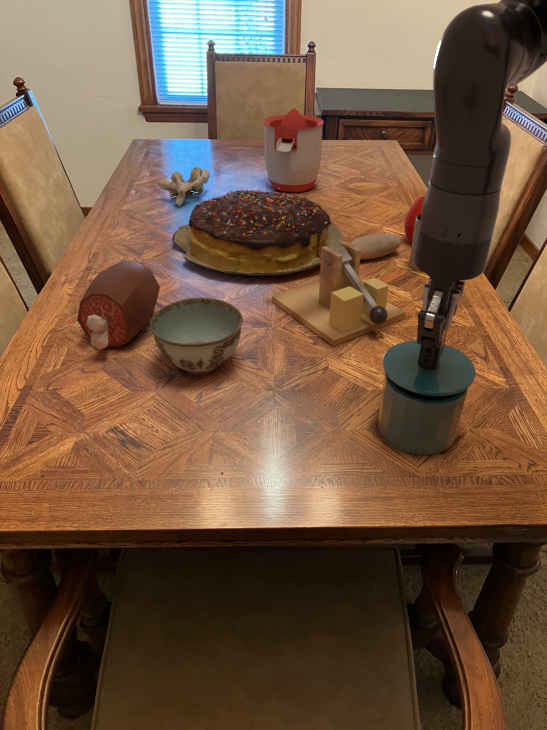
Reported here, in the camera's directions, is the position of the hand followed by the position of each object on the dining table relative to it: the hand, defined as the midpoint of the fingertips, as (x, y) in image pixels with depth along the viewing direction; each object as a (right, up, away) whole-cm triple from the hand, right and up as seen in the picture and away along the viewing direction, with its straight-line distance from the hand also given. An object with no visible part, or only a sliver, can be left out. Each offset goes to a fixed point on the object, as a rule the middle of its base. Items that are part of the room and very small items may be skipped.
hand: (429, 359), depth 70 cm
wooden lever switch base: (-8, +9, +32) cm, 35 cm away
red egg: (+13, +26, +57) cm, 64 cm away
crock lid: (0, -1, +1) cm, 1 cm away
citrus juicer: (-14, +48, +87) cm, 100 cm away
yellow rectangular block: (-2, +8, +29) cm, 30 cm away
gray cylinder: (+11, +19, +47) cm, 52 cm away
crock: (0, -9, +6) cm, 11 cm away
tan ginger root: (-42, +42, +79) cm, 99 cm away
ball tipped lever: (-5, +12, +26) cm, 29 cm away
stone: (+2, +22, +50) cm, 55 cm away
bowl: (-31, -1, +19) cm, 36 cm away
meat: (-44, +5, +27) cm, 52 cm away
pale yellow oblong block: (-7, +6, +26) cm, 27 cm away
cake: (-22, +25, +55) cm, 65 cm away
